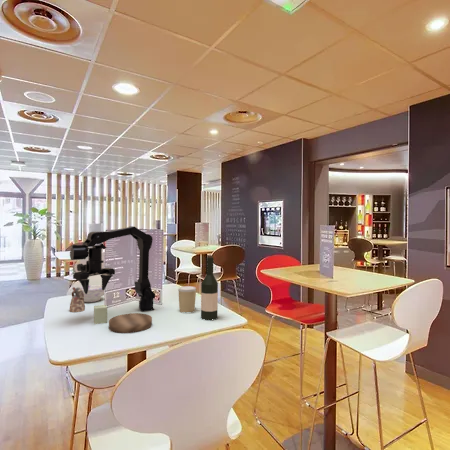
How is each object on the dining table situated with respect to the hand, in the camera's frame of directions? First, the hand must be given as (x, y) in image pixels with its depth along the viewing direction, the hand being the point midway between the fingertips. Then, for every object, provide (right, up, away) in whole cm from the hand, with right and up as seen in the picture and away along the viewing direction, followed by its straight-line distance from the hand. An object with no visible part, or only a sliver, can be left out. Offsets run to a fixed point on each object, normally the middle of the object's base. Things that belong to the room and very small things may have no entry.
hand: (94, 291), depth 142 cm
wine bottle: (+53, -14, +5) cm, 55 cm away
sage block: (+4, -13, -4) cm, 14 cm away
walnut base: (+20, -13, -9) cm, 25 cm away
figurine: (-15, -13, +14) cm, 25 cm away
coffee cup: (+41, -14, +16) cm, 46 cm away
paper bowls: (-18, -13, +35) cm, 41 cm away
